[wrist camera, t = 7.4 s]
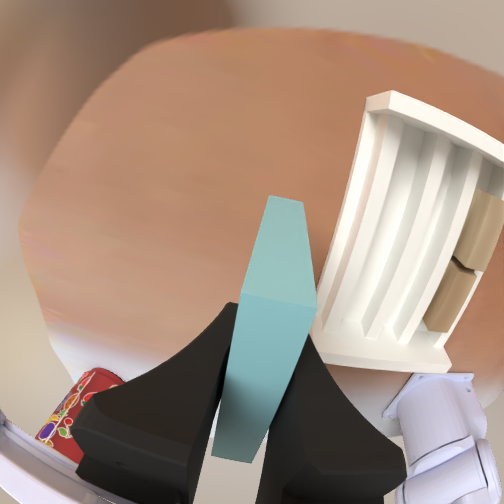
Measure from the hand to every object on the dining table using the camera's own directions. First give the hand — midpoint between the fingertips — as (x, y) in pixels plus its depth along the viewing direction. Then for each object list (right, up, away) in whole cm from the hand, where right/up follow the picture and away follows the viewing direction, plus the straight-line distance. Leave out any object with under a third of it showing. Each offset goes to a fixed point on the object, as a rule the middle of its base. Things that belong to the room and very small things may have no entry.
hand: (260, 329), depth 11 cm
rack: (+11, +4, +8) cm, 15 cm away
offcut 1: (+14, +1, +8) cm, 17 cm away
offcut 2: (+15, +5, +6) cm, 17 cm away
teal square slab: (+1, +2, +4) cm, 5 cm away
